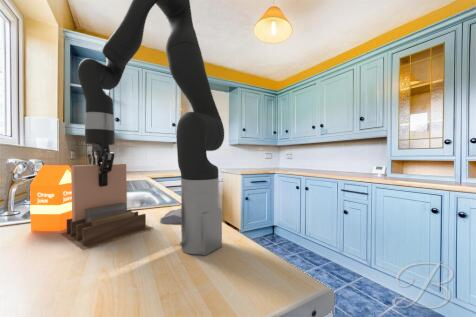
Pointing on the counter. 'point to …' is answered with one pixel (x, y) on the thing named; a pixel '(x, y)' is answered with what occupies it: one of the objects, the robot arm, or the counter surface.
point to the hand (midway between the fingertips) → (101, 185)
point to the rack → (104, 230)
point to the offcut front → (111, 218)
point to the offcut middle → (104, 211)
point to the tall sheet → (96, 188)
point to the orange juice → (51, 198)
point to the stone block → (172, 217)
